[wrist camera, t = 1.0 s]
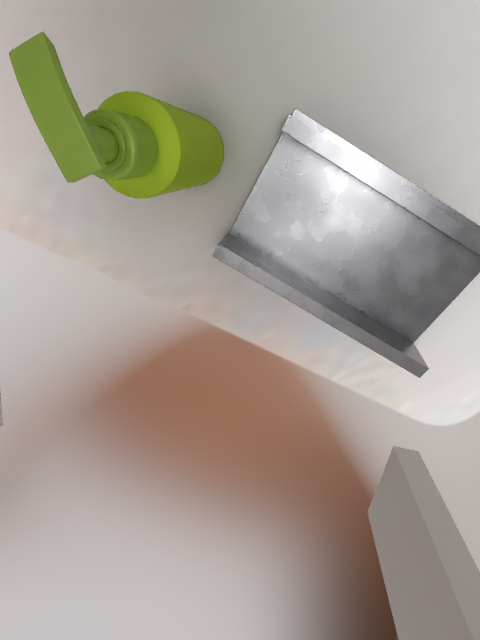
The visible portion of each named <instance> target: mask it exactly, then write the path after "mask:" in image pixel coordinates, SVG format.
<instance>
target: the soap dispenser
mask: <svg viewBox="0 0 480 640" xmlns="http://www.w3.org/2000/svg"><path fill="white" fill-rule="evenodd" d="M9 55H10V59H11V62H12V65H13V68H14V71H15V74H16V77H17V80H18V83H19V85H20V88H21V91H22V93H23V96H24V98H25V100H26V103H27V105H28V107H29V109H30V112H31V114H32V116H33V118H34V120H35V122H36V124H37V126H38V128H39V130H40V132H41V134H42V136H43V138H44V140H45V142H46V144H47V145H48V147H49V149H50V151H51V153H52V155H53V157H54V158H55V160H56V162H57V164H58V166H59V168H60V169H61V171H62V173H63V175H64V177H65V178H66V180H67V182H75V181H78V180H80V179H82V178H85V177H87V176H89V175H92V174H94V175H96V176H97V177H99V178H102V179H104V180H105V181H106V182H107V183H108V184H109V185H110V186H111V187H112V188H114V189H115V190H116V191H118V192H120V193H122V194H124V195H126V196H129V197H133V198H149V197H153V196H157V195H161V194H165V193H169V192H173V191H177V190H181V189H185V188H189V187H193V186H197V185H201V184H204V183H207V182H208V181H210V180H211V179H213V178H214V177H215V176H216V174H217V173H218V172H219V170H220V168H221V166H222V163H223V158H224V147H223V142H222V139H221V136H220V134H219V132H218V131H217V129H216V128H215V127H214V126H213V125H212V124H211V123H210V122H209V121H207V120H206V119H204V118H201V117H199V116H196V115H194V114H192V113H189V112H187V111H184V110H182V109H179V108H177V107H175V106H172V105H170V104H167V103H165V102H162V101H160V100H157V99H155V98H153V97H150V96H148V95H145V94H142V93H139V92H132V91H127V92H121V93H117V94H115V95H113V96H111V97H109V98H108V99H106V100H105V101H104V102H103V103H102V104H101V105H100V107H99V108H98V109H97V110H94V111H91V112H89V113H88V114H87V115H85V116H84V117H83V115H82V113H81V111H80V109H79V107H78V105H77V102H76V100H75V98H74V96H73V94H72V91H71V89H70V87H69V84H68V82H67V80H66V77H65V75H64V72H63V70H62V67H61V64H60V61H59V58H58V56H57V53H56V50H55V47H54V45H53V44H52V42H51V41H50V40H49V39H48V37H47V36H46V35H45V34H44V33H43V32H42V33H40V34H38V35H36V36H35V37H33V38H31V39H29V40H28V41H26V42H24V43H23V44H21V45H19V46H18V47H16V48H15V49H13V50H11V51H10V53H9Z"/></svg>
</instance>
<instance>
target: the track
mask: <svg viewBox="0 0 480 640" xmlns="http://www.w3.org/2000/svg"><path fill="white" fill-rule="evenodd" d="M281 130H282V132H283V133H282V135H281V137H280V139H279V141H278V143H277V145H276V146H275V148H274V150H273V152H272V154H271V156H270V158H269V160H268V161H267V163H266V165H265V167H264V169H263V171H262V173H261V175H260V176H259V178H258V180H257V182H256V184H255V186H254V188H253V190H252V191H251V193H250V195H249V197H248V199H247V201H246V203H245V204H244V206H243V208H242V210H241V212H240V214H239V216H238V218H237V219H236V221H235V223H234V225H233V227H232V229H231V231H230V233H229V234H228V235H227V236H226V237H225V238H224V239H223V240H222V241H221V242H220V243H219V244H218V246H217V248H216V250H215V252H214V253H213V255H212V256H214V257H215V258H217V259H219V260H220V261H222V262H224V263H225V264H227V265H229V266H231V267H232V268H234V269H236V270H237V271H239V272H241V273H242V274H244V275H246V276H248V277H249V278H251V279H253V280H254V281H256V282H258V283H259V284H261V285H263V286H265V287H266V288H268V289H270V290H271V291H273V292H275V293H276V294H278V295H280V296H282V297H283V298H285V299H287V300H288V301H290V302H292V303H293V304H295V305H297V306H299V307H300V308H302V309H304V310H305V311H307V312H309V313H310V314H312V315H314V316H315V317H317V318H319V319H321V320H322V321H324V322H326V323H327V324H329V325H331V326H332V327H334V328H336V329H338V330H339V331H341V332H343V333H344V334H346V335H348V336H349V337H351V338H353V339H355V340H356V341H358V342H360V343H361V344H363V345H365V346H366V347H368V348H370V349H372V350H373V351H375V352H377V353H378V354H380V355H382V356H383V357H385V358H387V359H389V360H390V361H392V362H394V363H395V364H397V365H399V366H400V367H402V368H404V369H406V370H407V371H409V372H411V373H412V374H414V375H416V376H417V377H419V378H420V377H421V376H422V375H423V374H424V373H425V372H426V371H427V370H428V369H429V368H428V366H427V365H426V363H425V361H424V360H423V358H422V356H421V355H420V353H419V351H418V350H417V348H416V346H415V345H414V342H415V341H416V340H417V338H418V337H419V336H420V335H421V334H422V333H423V332H424V331H425V330H426V329H427V328H428V327H429V326H430V325H431V324H432V322H433V321H434V320H435V319H436V318H437V317H438V316H439V315H440V314H441V313H442V312H443V311H444V310H445V309H446V308H447V307H448V305H449V304H450V303H451V302H452V301H453V300H454V299H455V298H456V297H457V296H458V295H459V294H460V293H461V292H462V291H463V289H464V288H465V287H466V286H467V285H468V284H469V283H470V282H471V281H472V280H473V279H474V278H475V277H476V276H477V275H478V273H479V272H480V226H479V225H477V224H475V223H474V222H472V221H471V220H469V219H468V218H466V217H464V216H463V215H461V214H460V213H458V212H457V211H455V210H453V209H452V208H450V207H449V206H447V205H446V204H444V203H442V202H441V201H439V200H438V199H436V198H435V197H433V196H431V195H430V194H428V193H427V192H425V191H424V190H422V189H421V188H419V187H417V186H416V185H414V184H413V183H411V182H410V181H408V180H406V179H405V178H403V177H402V176H400V175H399V174H397V173H395V172H394V171H392V170H391V169H389V168H388V167H386V166H384V165H383V164H381V163H380V162H378V161H377V160H375V159H373V158H372V157H370V156H369V155H367V154H366V153H364V152H363V151H361V150H359V149H358V148H356V147H355V146H353V145H352V144H350V143H348V142H347V141H345V140H344V139H342V138H341V137H339V136H337V135H336V134H334V133H333V132H331V131H330V130H328V129H326V128H325V127H323V126H322V125H320V124H319V123H317V122H315V121H314V120H312V119H311V118H309V117H308V116H306V115H305V114H303V113H301V112H300V111H298V110H297V109H295V111H294V113H293V115H292V116H291V115H289V116H288V118H287V120H286V122H285V124H284V126H283V127H282V129H281Z"/></svg>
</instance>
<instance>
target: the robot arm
mask: <svg viewBox="0 0 480 640" xmlns="http://www.w3.org/2000/svg"><path fill="white" fill-rule="evenodd" d="M2 425H3V421H2V406H1V393H0V427H1V426H2ZM368 516H369V520H370V524H371V528H372V532H373V536H374V540H375V544H376V549H377V552H378V556H379V560H380V565H381V569H382V573H383V577H384V581H385V585H386V589H387V594H388V598H389V602H390V606H391V610H392V614H393V618H394V622H395V626H396V630H397V634H398V638H399V640H480V572H479V570H478V568H477V566H476V564H475V562H474V560H473V558H472V556H471V554H470V552H469V550H468V548H467V546H466V544H465V542H464V540H463V538H462V536H461V534H460V533H459V530H458V528H457V526H456V524H455V523H454V520H453V519H452V516H451V514H450V513H449V511H448V509H447V507H446V505H445V503H444V501H443V499H442V497H441V495H440V493H439V491H438V489H437V487H436V485H435V483H434V481H433V479H432V477H431V475H430V473H429V471H428V469H427V467H426V465H425V463H424V461H423V459H422V457H421V455H420V453H419V452H418V451H413V450H409V449H405V448H400V447H396V446H393V449H392V451H391V454H390V456H389V459H388V461H387V464H386V466H385V469H384V472H383V475H382V477H381V479H380V482H379V485H378V487H377V490H376V492H375V495H374V497H373V500H372V502H371V505H370V508H369V510H368Z"/></svg>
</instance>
